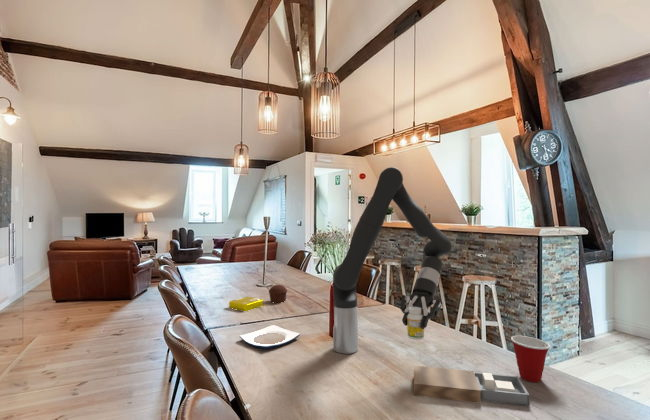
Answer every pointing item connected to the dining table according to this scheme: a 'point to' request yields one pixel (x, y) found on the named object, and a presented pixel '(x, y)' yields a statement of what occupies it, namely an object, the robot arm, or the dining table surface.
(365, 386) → the dining table surface
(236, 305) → the element tile
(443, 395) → the board
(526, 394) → the tray
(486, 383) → the tile
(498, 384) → the tile
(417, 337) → the supplement bottle
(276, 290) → the muffin
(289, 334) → the plate
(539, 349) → the plastic cup
